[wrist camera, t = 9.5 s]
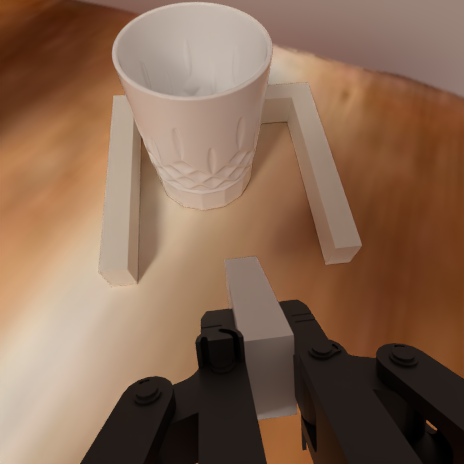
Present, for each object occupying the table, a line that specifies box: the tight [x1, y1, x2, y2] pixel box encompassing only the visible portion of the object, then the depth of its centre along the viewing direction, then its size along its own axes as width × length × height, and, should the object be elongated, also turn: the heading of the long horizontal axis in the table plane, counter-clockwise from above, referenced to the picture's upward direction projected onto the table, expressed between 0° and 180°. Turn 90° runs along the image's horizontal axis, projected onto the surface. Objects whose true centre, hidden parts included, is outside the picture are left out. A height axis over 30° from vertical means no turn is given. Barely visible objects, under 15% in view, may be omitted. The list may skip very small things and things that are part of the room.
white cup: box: [112, 2, 273, 210], centre depth 21 cm, size 8×8×10 cm
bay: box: [98, 82, 362, 287], centre depth 24 cm, size 15×15×2 cm
